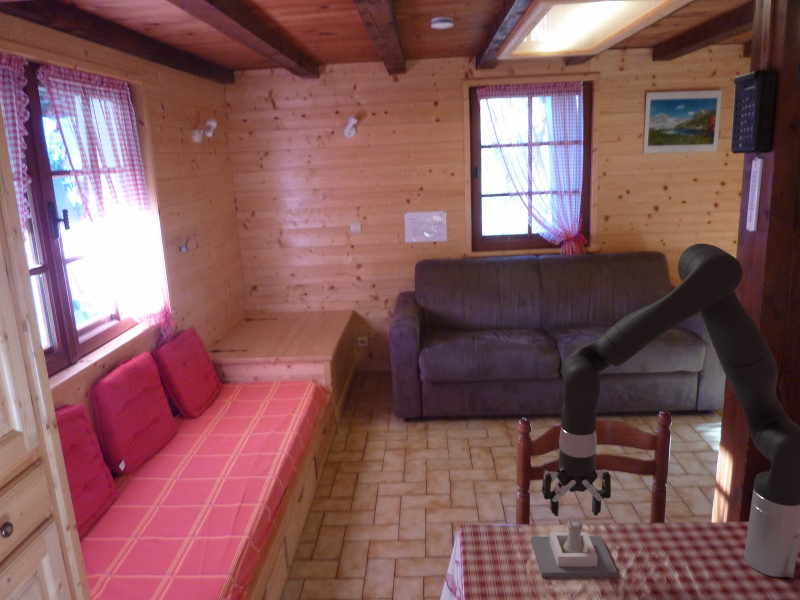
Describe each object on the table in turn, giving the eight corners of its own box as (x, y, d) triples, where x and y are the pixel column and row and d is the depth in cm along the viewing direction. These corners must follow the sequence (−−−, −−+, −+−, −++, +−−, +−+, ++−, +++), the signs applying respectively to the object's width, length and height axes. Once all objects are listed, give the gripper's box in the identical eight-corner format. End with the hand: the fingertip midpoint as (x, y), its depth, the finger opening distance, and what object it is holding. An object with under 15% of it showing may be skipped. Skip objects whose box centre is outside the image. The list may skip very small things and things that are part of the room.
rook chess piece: (584, 561, 130) (586, 529, 128) (563, 558, 131) (564, 527, 129) (582, 547, 134) (584, 517, 132) (562, 545, 135) (563, 515, 133)
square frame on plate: (600, 540, 138) (601, 526, 137) (617, 576, 127) (618, 562, 126) (531, 541, 139) (531, 527, 138) (541, 577, 127) (542, 562, 126)
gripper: (547, 456, 123) (546, 525, 127) (617, 455, 122) (613, 523, 126) (540, 439, 130) (539, 504, 134) (606, 437, 129) (602, 503, 133)
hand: (575, 513), depth 130 cm, fingers open, 8 cm apart
